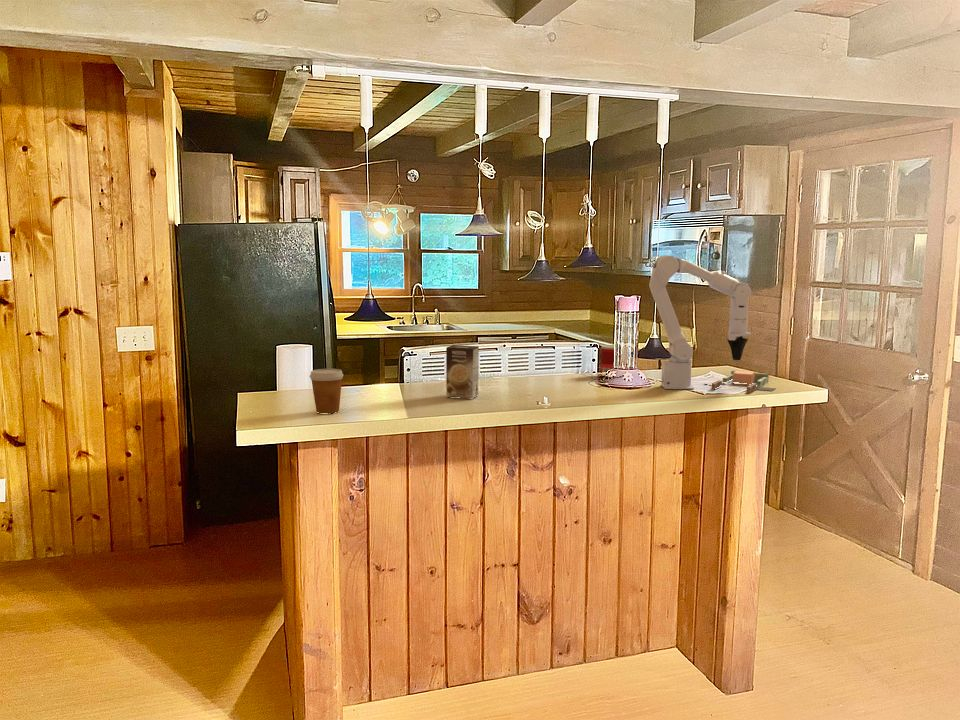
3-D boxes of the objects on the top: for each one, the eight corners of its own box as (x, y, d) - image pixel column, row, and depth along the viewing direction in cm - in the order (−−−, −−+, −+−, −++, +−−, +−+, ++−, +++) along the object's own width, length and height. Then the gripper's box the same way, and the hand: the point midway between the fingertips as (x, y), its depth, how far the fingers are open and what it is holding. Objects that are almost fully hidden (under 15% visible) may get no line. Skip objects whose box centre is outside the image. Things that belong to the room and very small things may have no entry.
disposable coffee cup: (346, 408, 224) (345, 368, 222) (342, 415, 214) (341, 373, 213) (313, 409, 224) (312, 368, 222) (308, 416, 214) (306, 373, 212)
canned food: (624, 378, 274) (625, 347, 272) (602, 378, 274) (602, 347, 273) (621, 374, 282) (621, 344, 280) (599, 374, 282) (599, 344, 280)
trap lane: (750, 393, 244) (750, 384, 244) (711, 389, 251) (711, 380, 250) (768, 382, 264) (768, 373, 263) (731, 379, 271) (732, 370, 270)
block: (750, 386, 258) (751, 374, 257) (732, 384, 261) (733, 373, 260) (754, 383, 263) (754, 371, 262) (736, 382, 266) (736, 370, 265)
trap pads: (772, 391, 247) (772, 390, 247) (703, 384, 260) (703, 384, 260) (775, 388, 252) (775, 388, 252) (707, 382, 264) (707, 382, 264)
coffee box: (445, 398, 239) (444, 347, 236) (452, 394, 245) (451, 344, 242) (473, 399, 236) (472, 348, 234) (479, 396, 242) (479, 345, 240)
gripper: (745, 321, 242) (743, 363, 244) (756, 317, 254) (754, 358, 256) (722, 320, 246) (720, 361, 248) (735, 316, 258) (733, 356, 260)
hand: (736, 359), depth 252 cm, fingers closed
